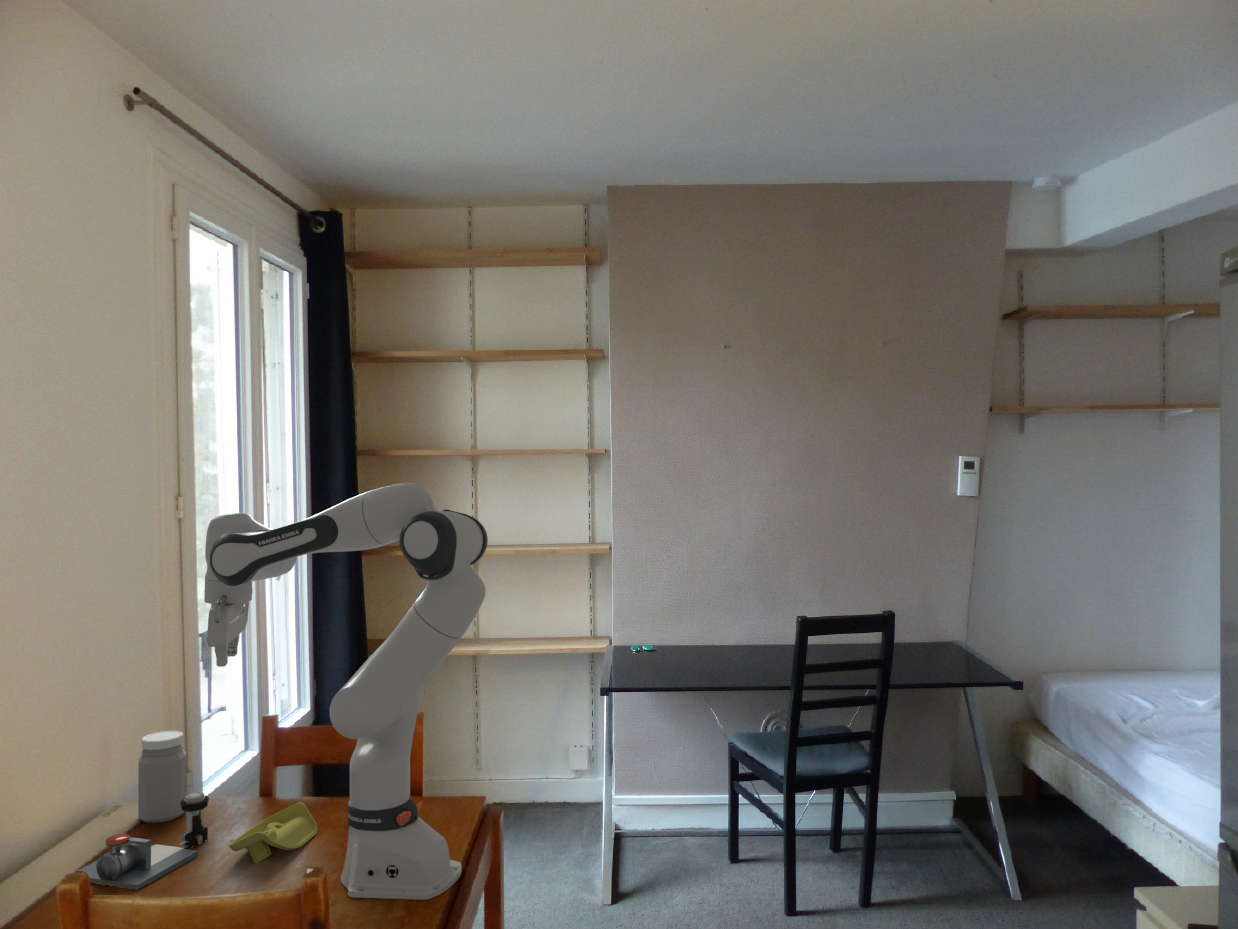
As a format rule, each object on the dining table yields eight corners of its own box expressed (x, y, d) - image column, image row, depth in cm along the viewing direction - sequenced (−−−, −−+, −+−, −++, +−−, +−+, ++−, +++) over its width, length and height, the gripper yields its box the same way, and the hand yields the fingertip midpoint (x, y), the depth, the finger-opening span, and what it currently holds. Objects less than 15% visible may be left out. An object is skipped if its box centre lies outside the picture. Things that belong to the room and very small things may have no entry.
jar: (180, 822, 190) (180, 740, 190) (131, 827, 187) (131, 744, 187) (191, 806, 199) (191, 728, 199) (144, 810, 197) (145, 731, 197)
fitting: (150, 870, 165) (151, 832, 165) (124, 884, 159) (124, 845, 159) (117, 865, 167) (117, 828, 167) (89, 879, 161) (89, 841, 161)
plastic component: (265, 818, 186) (307, 798, 186) (279, 850, 185) (320, 830, 185) (218, 851, 166) (265, 828, 166) (233, 887, 165) (280, 864, 165)
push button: (190, 853, 174) (190, 803, 174) (169, 850, 175) (169, 801, 175) (214, 840, 180) (214, 792, 180) (193, 837, 182) (193, 789, 182)
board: (198, 855, 173) (198, 850, 173) (137, 890, 158) (137, 884, 158) (134, 846, 177) (134, 841, 177) (68, 880, 162) (68, 874, 162)
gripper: (234, 599, 166) (233, 671, 166) (254, 586, 186) (252, 650, 185) (199, 600, 164) (197, 673, 164) (222, 586, 184) (221, 651, 184)
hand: (227, 660), depth 175 cm, fingers open, 8 cm apart
